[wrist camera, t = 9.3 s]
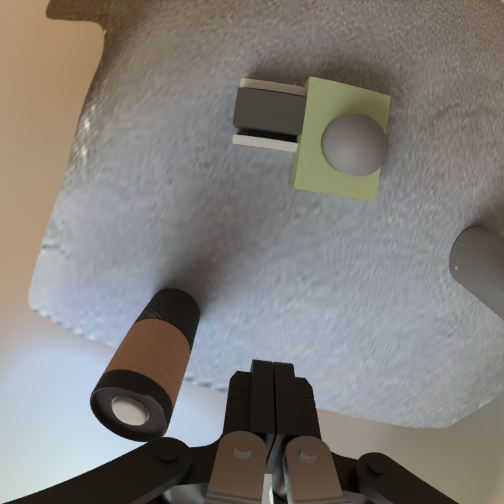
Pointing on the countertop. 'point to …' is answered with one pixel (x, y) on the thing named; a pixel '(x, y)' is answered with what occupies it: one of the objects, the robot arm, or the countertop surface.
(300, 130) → the dark grey box
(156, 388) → the travel mug
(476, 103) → the countertop surface
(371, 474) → the robot arm
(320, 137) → the two-prong plug
